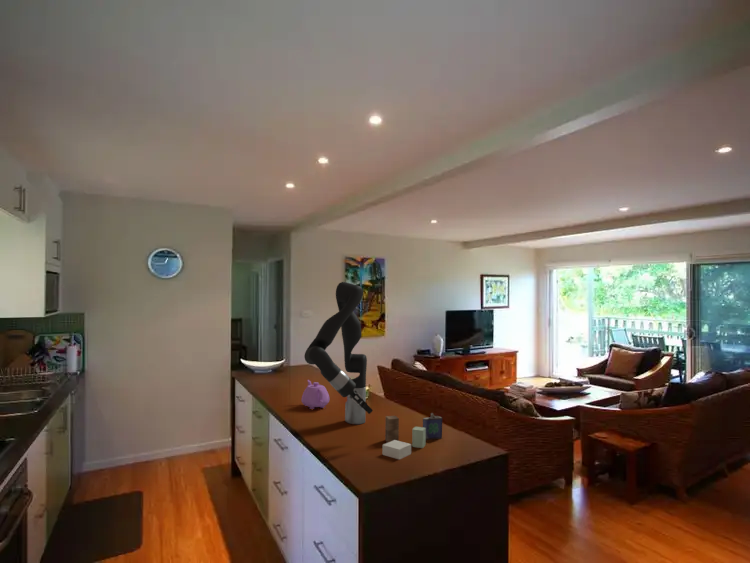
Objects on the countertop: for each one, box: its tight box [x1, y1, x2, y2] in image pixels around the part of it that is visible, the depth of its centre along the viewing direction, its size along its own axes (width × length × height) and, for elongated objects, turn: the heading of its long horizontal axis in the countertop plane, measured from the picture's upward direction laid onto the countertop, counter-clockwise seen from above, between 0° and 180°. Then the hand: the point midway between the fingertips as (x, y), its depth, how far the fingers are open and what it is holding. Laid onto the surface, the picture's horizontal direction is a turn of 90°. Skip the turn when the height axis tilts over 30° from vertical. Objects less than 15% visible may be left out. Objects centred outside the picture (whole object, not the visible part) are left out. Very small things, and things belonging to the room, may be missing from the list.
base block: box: [382, 440, 412, 460], centre depth 164 cm, size 8×8×4 cm
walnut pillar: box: [384, 415, 400, 443], centre depth 179 cm, size 4×4×10 cm
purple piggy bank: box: [301, 379, 330, 410], centre depth 237 cm, size 22×16×14 cm
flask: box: [422, 412, 443, 441], centre depth 184 cm, size 9×3×11 cm, turn 109°
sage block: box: [411, 426, 427, 449], centre depth 174 cm, size 4×4×7 cm
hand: (368, 409), depth 177 cm, fingers open, 8 cm apart
